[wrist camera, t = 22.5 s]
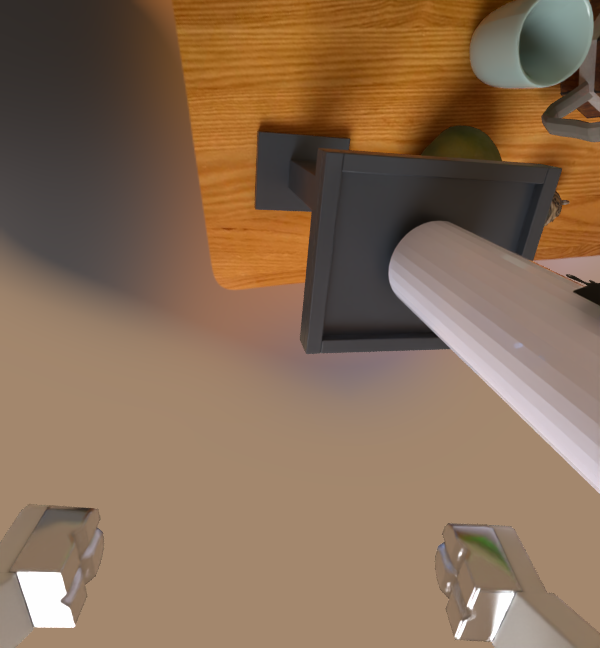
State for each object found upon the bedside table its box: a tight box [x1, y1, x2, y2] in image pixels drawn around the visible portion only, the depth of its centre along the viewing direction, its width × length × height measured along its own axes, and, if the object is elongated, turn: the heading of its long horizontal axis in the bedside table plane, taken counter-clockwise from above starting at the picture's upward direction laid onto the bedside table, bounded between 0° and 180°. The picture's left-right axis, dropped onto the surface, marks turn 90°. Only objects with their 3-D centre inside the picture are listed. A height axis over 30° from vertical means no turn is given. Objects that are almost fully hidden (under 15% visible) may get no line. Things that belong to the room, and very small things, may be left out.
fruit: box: [421, 126, 502, 161], centre depth 50 cm, size 12×13×10 cm
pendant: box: [544, 191, 569, 226], centre depth 56 cm, size 5×8×5 cm, turn 100°
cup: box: [469, 0, 594, 89], centre depth 44 cm, size 8×8×10 cm
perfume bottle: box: [388, 221, 600, 493], centre depth 15 cm, size 6×6×20 cm
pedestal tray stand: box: [255, 131, 562, 354], centre depth 37 cm, size 12×10×32 cm
